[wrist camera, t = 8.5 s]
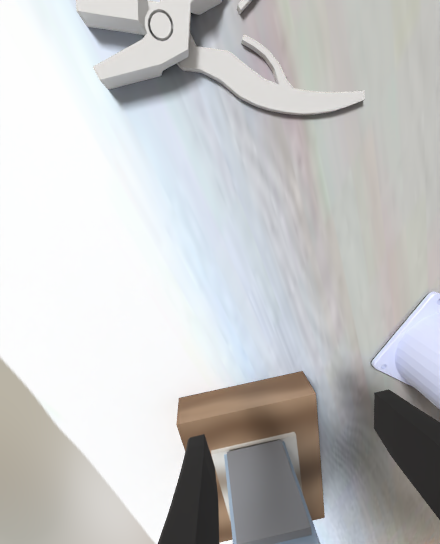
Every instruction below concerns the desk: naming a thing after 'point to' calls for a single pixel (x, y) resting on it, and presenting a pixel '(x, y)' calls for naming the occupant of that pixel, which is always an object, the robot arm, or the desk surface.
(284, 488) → the block
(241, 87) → the pliers
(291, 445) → the stand
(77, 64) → the desk surface
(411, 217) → the desk surface
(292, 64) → the desk surface
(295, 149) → the desk surface
